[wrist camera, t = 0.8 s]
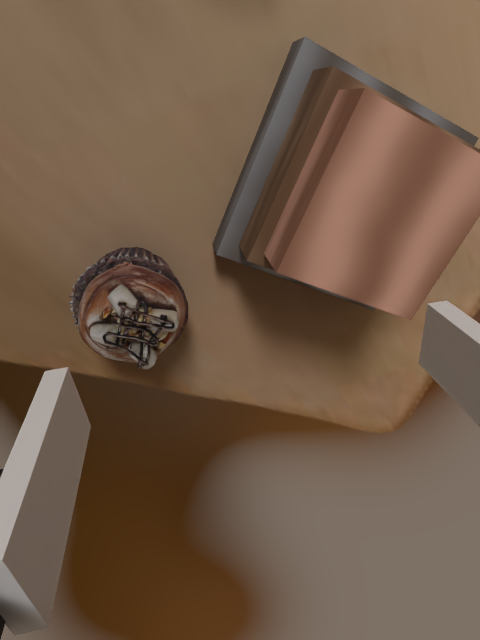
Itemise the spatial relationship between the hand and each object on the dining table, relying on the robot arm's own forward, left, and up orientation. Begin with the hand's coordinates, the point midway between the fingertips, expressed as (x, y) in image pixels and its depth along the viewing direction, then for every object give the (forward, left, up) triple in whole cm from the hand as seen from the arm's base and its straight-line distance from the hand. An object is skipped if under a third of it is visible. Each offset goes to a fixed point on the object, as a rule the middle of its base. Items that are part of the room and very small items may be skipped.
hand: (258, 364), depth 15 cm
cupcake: (-4, -9, -24) cm, 26 cm away
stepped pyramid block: (+10, +6, -24) cm, 27 cm away
